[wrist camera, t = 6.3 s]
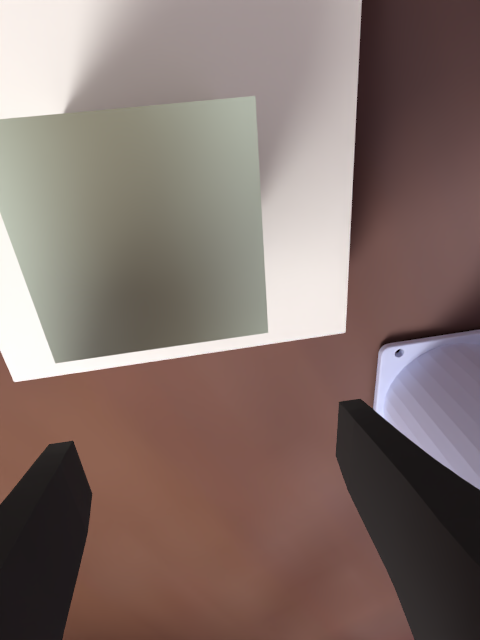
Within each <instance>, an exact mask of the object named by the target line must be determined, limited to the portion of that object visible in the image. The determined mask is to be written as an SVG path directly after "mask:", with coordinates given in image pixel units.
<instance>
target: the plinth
mask: <svg viewBox="0 0 480 640" xmlns="http://www.w3.org/2000/svg"><path fill="white" fill-rule="evenodd" d="M361 6H362V0H0V119H8V118H19V117H30V116H41V115H52V114H63V113H74V112H85V111H96V110H107V109H118V108H129V107H140V106H151V105H162V104H172V103H183V102H194V101H205V100H216V99H227V98H238V97H249V96H255V97H256V116H257V134H258V153H259V171H260V189H261V208H262V226H263V245H264V263H265V281H266V300H267V318H268V333H263V334H256V335H249V336H243V337H236V338H229V339H222V340H215V341H208V342H201V343H194V344H187V345H180V346H173V347H166V348H159V349H152V350H145V351H138V352H131V353H125V354H118V355H111V356H104V357H97V358H90V359H83V360H76V361H69V362H62V363H55V361H54V359H53V356H52V353H51V350H50V348H49V345H48V342H47V339H46V337H45V334H44V331H43V329H42V326H41V323H40V320H39V318H38V315H37V312H36V309H35V307H34V304H33V301H32V298H31V296H30V293H29V290H28V287H27V285H26V282H25V279H24V277H23V274H22V271H21V268H20V266H19V263H18V260H17V257H16V255H15V252H14V249H13V246H12V244H11V241H10V238H9V236H8V233H7V230H6V227H5V225H4V222H3V219H2V216H1V214H0V351H1V353H2V355H3V358H4V360H5V362H6V364H7V367H8V369H9V371H10V374H11V376H12V378H13V380H14V382H18V381H25V380H32V379H38V378H45V377H52V376H59V375H65V374H72V373H79V372H85V371H92V370H99V369H105V368H112V367H119V366H125V365H132V364H139V363H146V362H152V361H159V360H166V359H172V358H179V357H186V356H192V355H199V354H206V353H213V352H219V351H226V350H233V349H239V348H246V347H253V346H259V345H266V344H273V343H279V342H286V341H293V340H300V339H306V338H313V337H320V336H326V335H333V334H340V333H345V331H346V311H347V290H348V270H349V250H350V229H351V209H352V189H353V168H354V148H355V128H356V107H357V87H358V67H359V47H360V26H361Z"/></svg>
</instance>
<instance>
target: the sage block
mask: <svg viewBox="0 0 480 640" xmlns="http://www.w3.org/2000/svg"><path fill="white" fill-rule="evenodd" d="M0 214H1V216H2V219H3V222H4V225H5V227H6V230H7V233H8V236H9V238H10V241H11V244H12V246H13V249H14V252H15V255H16V257H17V260H18V263H19V266H20V268H21V271H22V274H23V277H24V279H25V282H26V285H27V287H28V290H29V293H30V296H31V298H32V301H33V304H34V307H35V309H36V312H37V315H38V318H39V320H40V323H41V326H42V329H43V331H44V334H45V337H46V339H47V342H48V345H49V348H50V350H51V353H52V356H53V359H54V361H55V363H62V362H69V361H76V360H83V359H90V358H97V357H104V356H111V355H118V354H125V353H131V352H138V351H145V350H152V349H159V348H166V347H173V346H180V345H187V344H194V343H201V342H208V341H215V340H222V339H229V338H236V337H243V336H249V335H256V334H263V333H268V318H267V300H266V281H265V263H264V245H263V226H262V208H261V189H260V171H259V153H258V134H257V116H256V97H255V96H249V97H238V98H227V99H216V100H205V101H194V102H183V103H172V104H162V105H151V106H140V107H129V108H118V109H107V110H96V111H85V112H74V113H63V114H52V115H41V116H30V117H19V118H8V119H0Z"/></svg>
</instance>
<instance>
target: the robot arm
mask: <svg viewBox="0 0 480 640" xmlns="http://www.w3.org/2000/svg"><path fill="white" fill-rule="evenodd" d="M399 349H400V351H399V352H398V353H395V352H396V351H397V350H399ZM336 457H337V460H338V463H339V466H340V469H341V472H342V475H343V478H344V481H345V483H346V486H347V489H348V491H349V493H350V495H351V498H352V500H353V502H354V504H355V506H356V508H357V510H358V512H359V514H360V516H361V518H362V520H363V522H364V524H365V527H366V529H367V531H368V533H369V535H370V537H371V539H372V541H373V543H374V545H375V547H376V549H377V551H378V553H379V555H380V557H381V559H382V561H383V563H384V565H385V567H386V569H387V572H388V574H389V576H390V578H391V581H392V583H393V585H394V587H395V590H396V592H397V595H398V598H399V600H400V603H401V605H402V608H403V610H404V613H405V616H406V618H407V621H408V623H409V626H410V629H411V631H412V634H413V637H414V639H415V640H480V330H473V331H467V332H460V333H453V334H447V335H440V336H434V337H427V338H421V339H414V340H408V341H401V342H395V343H388V344H385V345H384V346H382V347H381V349H380V350H379V355H378V365H377V375H376V385H375V396H374V406H373V409H372V408H371V407H370V406H368V405H367V404H366V403H365V402H364V401H362V400H361V399H356V400H349V401H342V402H339V413H338V429H337V444H336ZM91 500H92V492H91V489H90V486H89V484H88V481H87V478H86V475H85V473H84V470H83V467H82V464H81V461H80V459H79V456H78V453H77V450H76V448H75V445H74V442H73V441H69V442H62V443H55V444H49V445H48V446H47V448H46V449H45V450H44V451H43V453H42V454H41V455H40V456H39V457H38V459H37V460H36V461H35V462H34V464H33V465H32V466H31V467H30V469H29V470H28V471H27V472H26V474H25V475H24V476H23V477H22V479H21V480H20V481H19V482H18V484H17V485H16V486H15V487H14V489H13V490H12V491H11V492H10V494H9V495H8V496H7V497H6V498H5V500H4V501H3V502H2V503H1V504H0V640H62V638H63V633H64V629H65V625H66V621H67V616H68V612H69V608H70V604H71V600H72V596H73V592H74V588H75V584H76V580H77V575H78V571H79V567H80V563H81V559H82V555H83V550H84V546H85V542H86V537H87V533H88V525H89V518H90V509H91Z"/></svg>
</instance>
